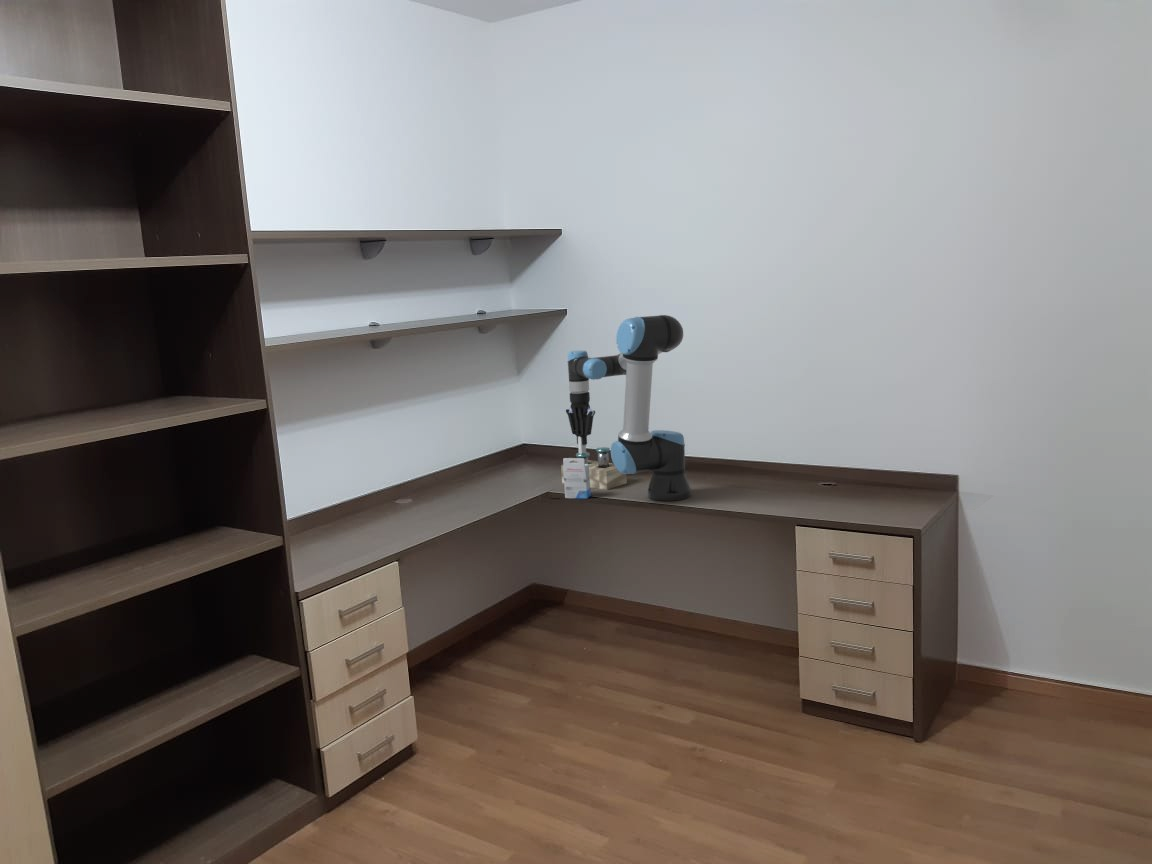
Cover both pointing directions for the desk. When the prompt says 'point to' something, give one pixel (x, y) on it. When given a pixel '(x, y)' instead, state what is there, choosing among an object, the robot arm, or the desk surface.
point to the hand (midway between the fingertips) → (582, 452)
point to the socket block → (603, 476)
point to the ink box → (576, 478)
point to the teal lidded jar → (583, 456)
